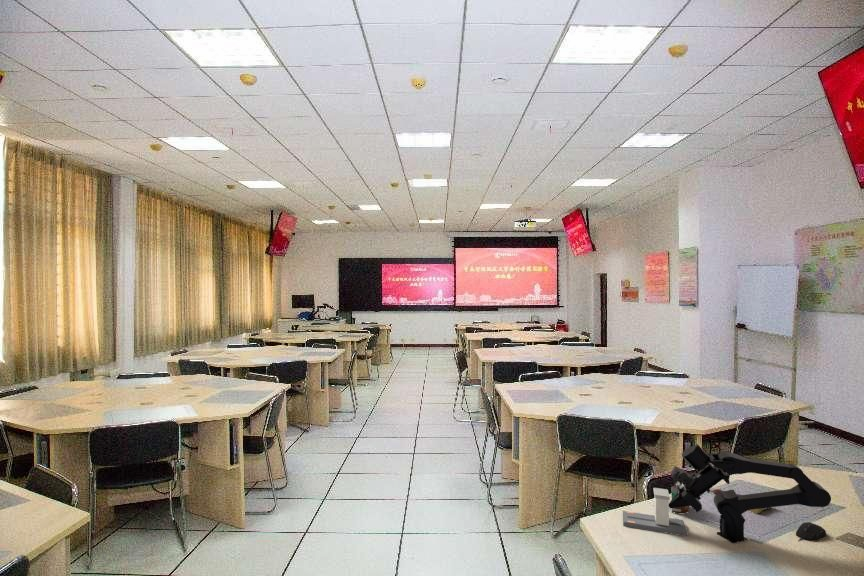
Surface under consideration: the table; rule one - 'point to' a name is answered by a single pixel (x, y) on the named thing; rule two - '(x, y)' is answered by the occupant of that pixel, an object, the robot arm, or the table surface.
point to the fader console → (653, 523)
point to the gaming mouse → (810, 532)
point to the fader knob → (661, 506)
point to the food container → (673, 492)
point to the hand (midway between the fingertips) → (669, 506)
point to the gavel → (748, 510)
